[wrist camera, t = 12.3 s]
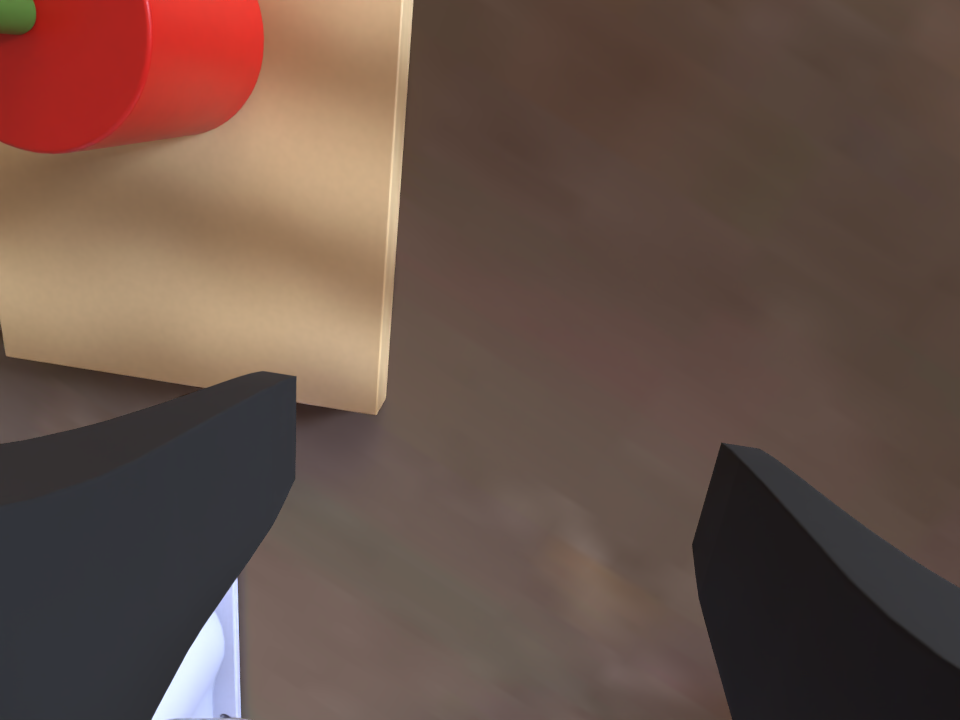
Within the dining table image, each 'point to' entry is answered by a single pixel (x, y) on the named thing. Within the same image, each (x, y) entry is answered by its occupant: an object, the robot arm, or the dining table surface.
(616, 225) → the dining table surface
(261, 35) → the pepper
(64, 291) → the cutting board
